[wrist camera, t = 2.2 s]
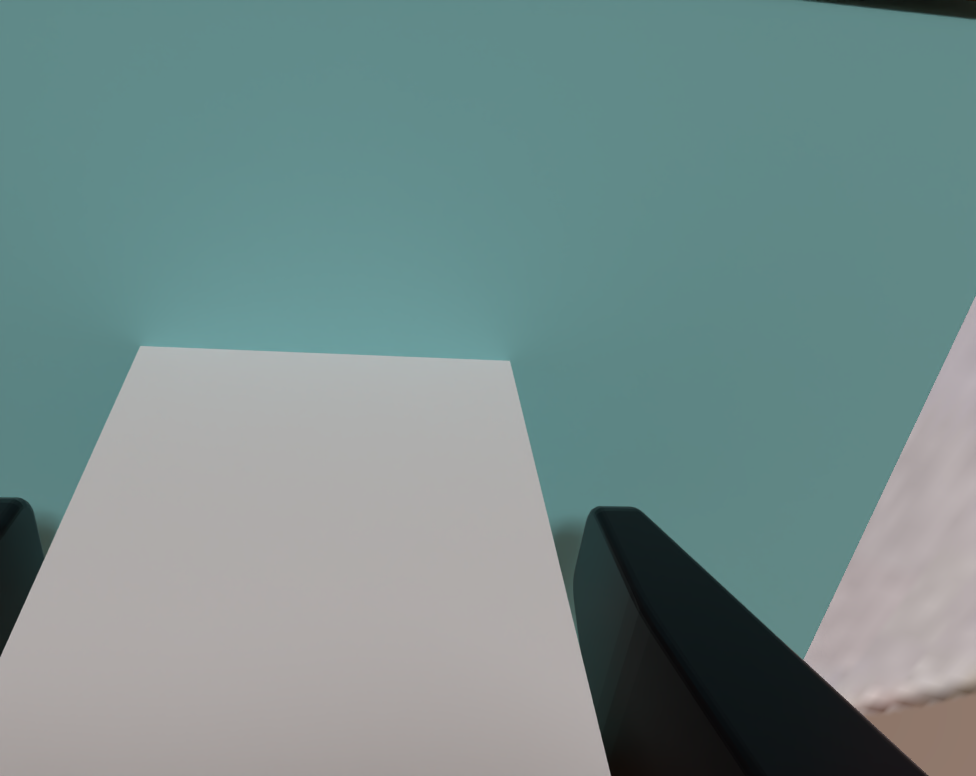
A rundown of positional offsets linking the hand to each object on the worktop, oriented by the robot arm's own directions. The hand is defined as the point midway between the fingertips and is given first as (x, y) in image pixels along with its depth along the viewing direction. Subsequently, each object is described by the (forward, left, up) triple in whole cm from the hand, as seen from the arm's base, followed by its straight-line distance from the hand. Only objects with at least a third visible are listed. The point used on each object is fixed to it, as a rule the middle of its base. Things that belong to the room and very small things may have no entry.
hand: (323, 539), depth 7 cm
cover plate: (0, 0, -2) cm, 2 cm away
